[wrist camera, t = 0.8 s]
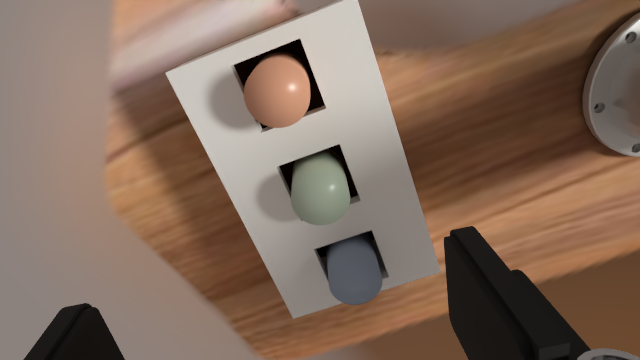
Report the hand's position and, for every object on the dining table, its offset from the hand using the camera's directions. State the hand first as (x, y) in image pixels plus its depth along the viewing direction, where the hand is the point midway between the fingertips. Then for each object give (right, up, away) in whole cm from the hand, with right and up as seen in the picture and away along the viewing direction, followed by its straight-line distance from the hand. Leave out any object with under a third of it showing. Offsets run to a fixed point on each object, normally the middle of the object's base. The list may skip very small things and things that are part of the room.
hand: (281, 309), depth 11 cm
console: (+1, +6, +24) cm, 25 cm away
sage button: (+1, +4, +21) cm, 22 cm away
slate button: (+4, -2, +24) cm, 24 cm away
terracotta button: (-2, +11, +18) cm, 21 cm away
